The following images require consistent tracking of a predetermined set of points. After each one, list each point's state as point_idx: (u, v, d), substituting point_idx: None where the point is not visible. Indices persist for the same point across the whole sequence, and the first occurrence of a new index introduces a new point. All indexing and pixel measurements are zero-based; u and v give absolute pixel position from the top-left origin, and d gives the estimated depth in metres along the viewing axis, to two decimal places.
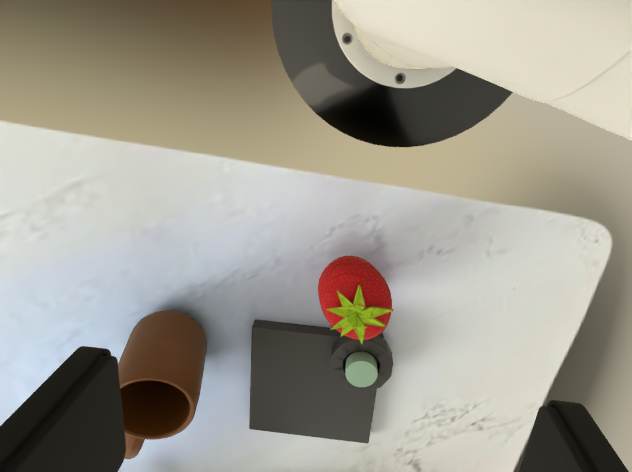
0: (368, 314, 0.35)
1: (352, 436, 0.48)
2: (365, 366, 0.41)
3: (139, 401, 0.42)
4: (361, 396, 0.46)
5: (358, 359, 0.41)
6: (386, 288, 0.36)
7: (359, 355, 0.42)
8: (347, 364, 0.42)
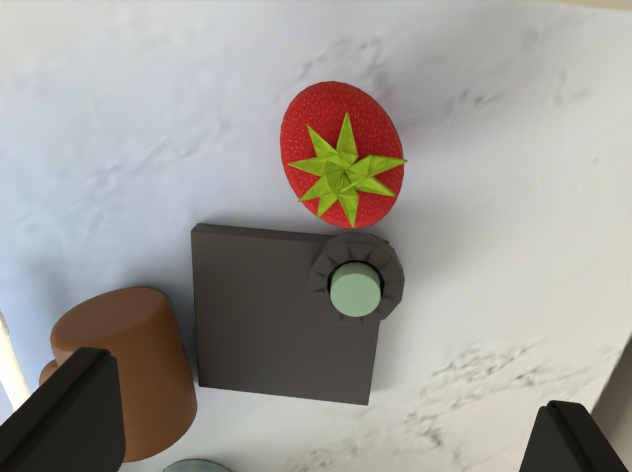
0: (363, 171, 0.20)
1: (345, 395, 0.33)
2: (361, 282, 0.26)
3: None
4: (356, 336, 0.31)
5: (350, 271, 0.26)
6: (395, 133, 0.21)
7: (352, 266, 0.27)
8: (333, 281, 0.27)
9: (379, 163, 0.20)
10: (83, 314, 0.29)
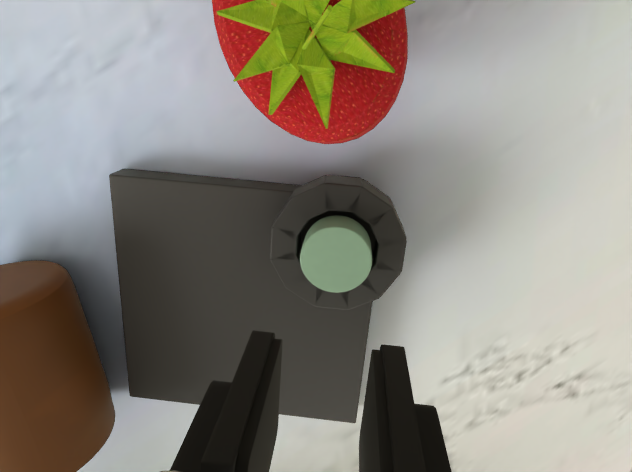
0: (341, 20, 0.12)
1: (324, 409, 0.25)
2: (344, 240, 0.18)
3: None
4: (339, 327, 0.23)
5: (328, 225, 0.18)
6: None
7: (332, 220, 0.19)
8: (305, 240, 0.19)
9: (368, 5, 0.12)
10: None
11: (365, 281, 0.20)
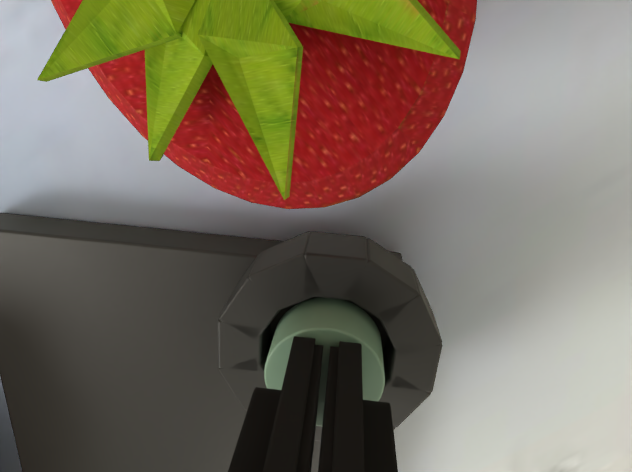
0: None
1: None
2: None
3: None
4: None
5: (311, 322, 0.11)
6: None
7: (318, 309, 0.11)
8: (272, 343, 0.11)
9: None
10: None
11: None
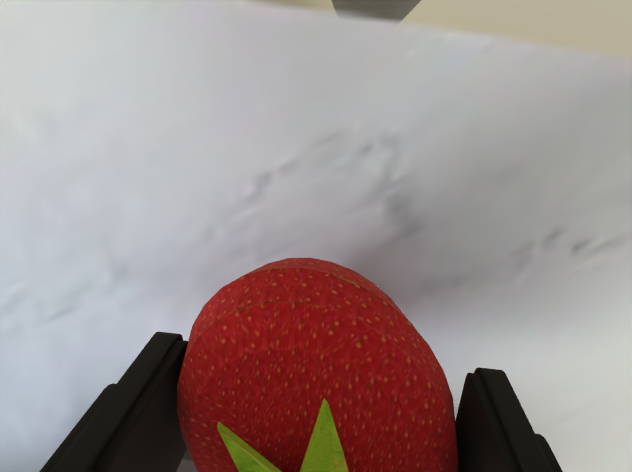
0: None
1: None
2: None
3: None
4: None
5: None
6: (442, 390, 0.09)
7: None
8: None
9: None
10: None
11: None
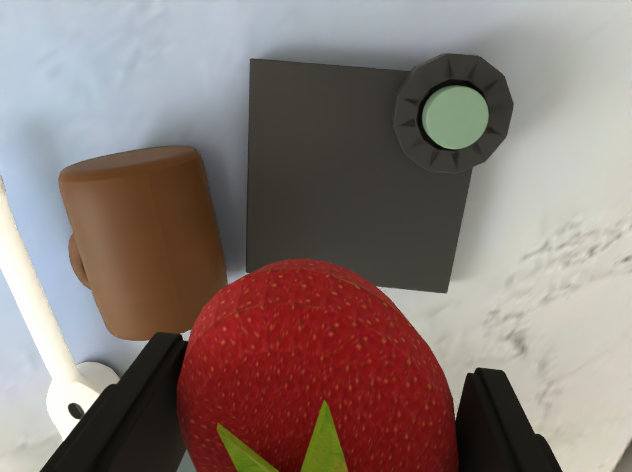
0: None
1: (420, 280, 0.28)
2: (466, 99, 0.21)
3: None
4: (440, 199, 0.26)
5: (452, 87, 0.22)
6: (442, 391, 0.09)
7: (453, 86, 0.22)
8: (429, 103, 0.22)
9: None
10: (103, 159, 0.25)
11: (474, 145, 0.23)
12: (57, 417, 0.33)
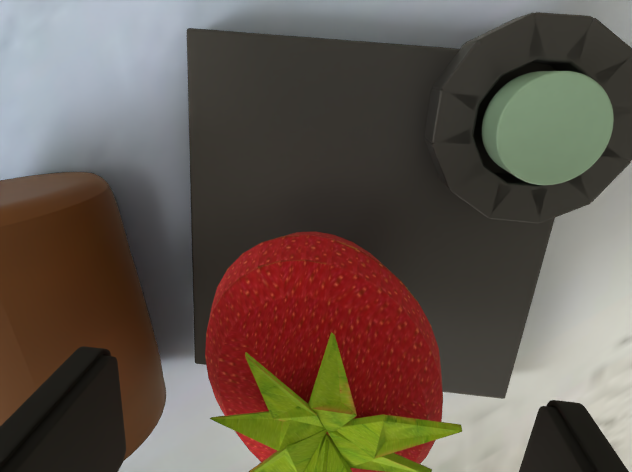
0: (367, 443, 0.09)
1: (464, 379, 0.18)
2: (574, 95, 0.12)
3: None
4: (501, 259, 0.16)
5: (546, 72, 0.12)
6: (428, 337, 0.11)
7: (543, 71, 0.12)
8: (502, 102, 0.12)
9: (402, 432, 0.09)
10: None
11: None
12: None
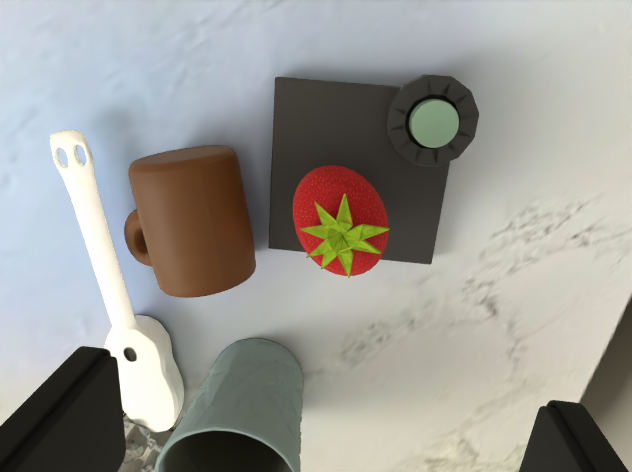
0: (356, 235, 0.26)
1: (409, 254, 0.35)
2: (442, 110, 0.28)
3: None
4: (425, 188, 0.33)
5: (431, 100, 0.28)
6: (381, 205, 0.28)
7: (432, 99, 0.29)
8: (414, 112, 0.29)
9: (368, 230, 0.26)
10: (160, 155, 0.32)
11: (449, 145, 0.30)
12: None
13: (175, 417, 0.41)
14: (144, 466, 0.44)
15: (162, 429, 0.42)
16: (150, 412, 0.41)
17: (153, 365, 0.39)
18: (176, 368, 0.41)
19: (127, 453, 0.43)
